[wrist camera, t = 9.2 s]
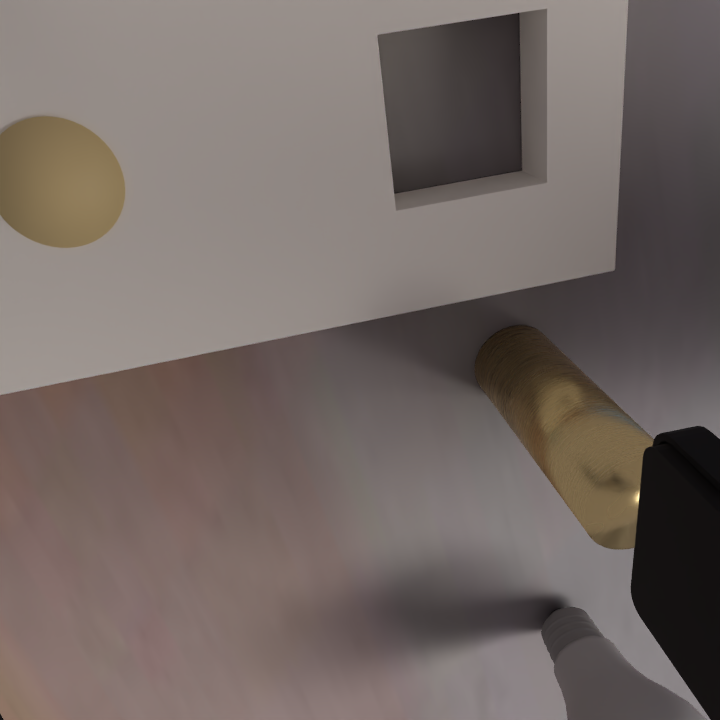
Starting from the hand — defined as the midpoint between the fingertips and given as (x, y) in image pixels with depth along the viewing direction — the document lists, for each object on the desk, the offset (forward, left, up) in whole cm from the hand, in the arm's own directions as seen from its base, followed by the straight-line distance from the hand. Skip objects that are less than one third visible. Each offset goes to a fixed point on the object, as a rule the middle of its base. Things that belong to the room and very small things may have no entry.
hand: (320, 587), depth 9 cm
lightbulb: (-11, +22, -16) cm, 29 cm away
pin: (-9, +7, -16) cm, 19 cm away
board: (0, -3, -16) cm, 16 cm away
